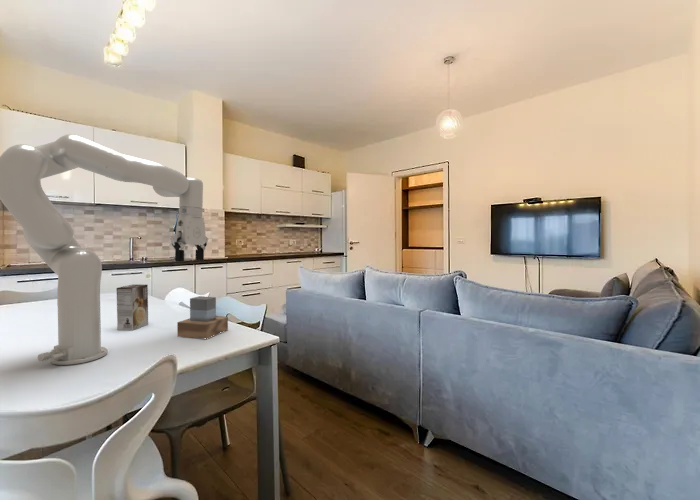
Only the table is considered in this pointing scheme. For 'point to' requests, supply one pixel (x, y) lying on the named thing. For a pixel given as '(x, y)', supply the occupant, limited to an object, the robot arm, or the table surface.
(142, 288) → the coffee box
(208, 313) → the block
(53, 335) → the table surface
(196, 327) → the walnut stand
